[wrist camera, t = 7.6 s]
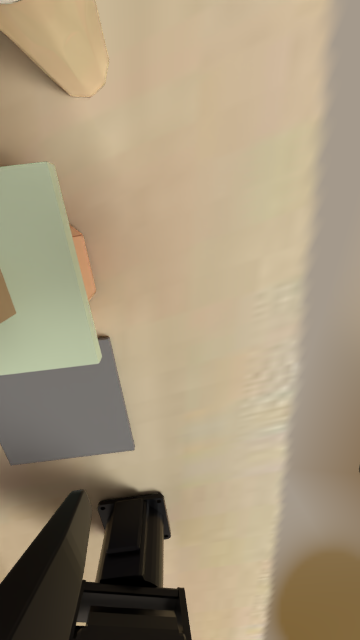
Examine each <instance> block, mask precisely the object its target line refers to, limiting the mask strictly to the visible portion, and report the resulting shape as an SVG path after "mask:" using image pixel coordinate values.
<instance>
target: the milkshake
mask: <svg viewBox="0 0 360 640" xmlns="http://www.w3.org/2000/svg"><path fill="white" fill-rule="evenodd" d="M0 31H1V32H3V33H4V34H5V35H6V36H7V37H8V38H9V39H11V40H12V41H13V42H14V43H15V44H16V45H17V46H18V47H19V48H20V49H21V50H22V51H23V52H24V53H25V54H26V55H27V56H28V57H29V58H30V59H31V60H32V61H33V62H34V63H35V64H36V65H37V66H38V67H39V68H40V69H41V70H42V71H43V72H44V73H45V74H46V75H47V76H48V77H50V78H51V79H52V80H53V81H54V82H55V83H56V84H57V85H59V86H60V87H61V88H62V89H63V90H65V91H66V92H67V93H68V94H69V95H70V96H72V97H91V96H92V95H94V94H95V93H96V92H97V91H98V90H99V89H100V88H101V87H102V86H103V85H104V84H105V81H106V75H107V70H108V65H109V57H108V53H107V48H106V44H105V40H104V35H103V31H102V27H101V22H100V18H99V14H98V9H97V5H96V1H95V0H0Z"/></svg>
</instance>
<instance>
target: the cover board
mask: <svg viewBox="0 0 360 640" xmlns="http://www.w3.org/2000/svg"><path fill="white" fill-rule="evenodd" d="M101 358H102V354H101V350H100V346H99V342H98V338H97V334H96V330H95V326H94V322H93V318H92V314H91V310H90V306H89V302H88V298H87V294H86V290H85V286H84V282H83V278H82V274H81V270H80V266H79V262H78V258H77V254H76V250H75V246H74V242H73V238H72V234H71V230H70V226H69V222H68V218H67V214H66V210H65V206H64V202H63V198H62V194H61V190H60V186H59V182H58V178H57V174H56V170H55V166H54V165H53V164H51V163H49V162H38V163H29V164H20V165H12V166H3V167H0V375H9V374H17V373H25V372H34V371H42V370H50V369H59V368H67V367H75V366H84V365H92V364H99V362H100V360H101Z"/></svg>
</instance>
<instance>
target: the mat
mask: <svg viewBox="0 0 360 640" xmlns="http://www.w3.org/2000/svg"><path fill="white" fill-rule="evenodd" d="M98 342H99V346H100V350H101V354H102V358H101V360H100V362H99V364H92V365H84V366H75V367H67V368H59V369H50V370H42V371H34V372H25V373H17V374H9V375H0V444H1V446H2V448H3V450H4V452H5V454H6V456H7V458H8V460H9V462H10V465H18V464H27V463H35V462H43V461H51V460H59V459H67V458H75V457H83V456H91V455H99V454H108V453H116V452H124V451H132V450H134V448H135V445H134V441H133V437H132V432H131V428H130V424H129V420H128V415H127V411H126V407H125V402H124V398H123V394H122V389H121V385H120V381H119V376H118V372H117V368H116V363H115V359H114V355H113V351H112V346H111V342H110V338H109V337H104V338H98Z"/></svg>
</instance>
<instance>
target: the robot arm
mask: <svg viewBox="0 0 360 640" xmlns="http://www.w3.org/2000/svg"><path fill="white" fill-rule="evenodd" d="M359 472H360V466H359ZM98 512H99V514H100V517H101V520H102V523H103V526H104V529H105V535H104V540H103V545H102V550H101V555H100V560H99V565H98V570H97V575H96V580H95V582H86V580H82V578H83V573H84V567H85V560H86V553H87V546H88V538H89V531H90V524H91V517H92V506H91V503H90V500H89V497H88V495H87V492H86V491H85V490H76V491H72V492H71V493H70V494H69V495H68V497H67V498H66V499H65V501H64V502H63V503H62V504H61V506H60V507H59V508H58V510H57V511H56V512H55V514H54V515H53V516H52V517H51V519H50V520H49V521H48V523H47V524H46V525H45V527H44V528H43V529H42V530H41V532H40V533H39V534H38V536H37V537H36V538H35V539H34V541H33V542H32V543H31V545H30V546H29V547H28V549H27V550H26V551H25V552H24V554H23V555H22V556H21V558H20V559H19V560H18V562H17V563H16V564H15V565H14V567H13V568H12V569H11V571H10V572H9V573H8V575H7V576H6V577H5V578H4V580H3V581H2V582H1V584H0V640H192V639H191V632H190V625H189V618H188V611H187V604H186V597H185V590H184V588H180V587H178V588H177V589H173V588H163V542H164V539H169V538H170V537H171V531H170V526H169V521H168V516H167V510H166V505H165V500H164V496H163V495H162V494H154V495H146V496H138V497H130V498H122V499H113V500H105V501H101V502H99V504H98ZM76 622H86V626H76Z"/></svg>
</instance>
